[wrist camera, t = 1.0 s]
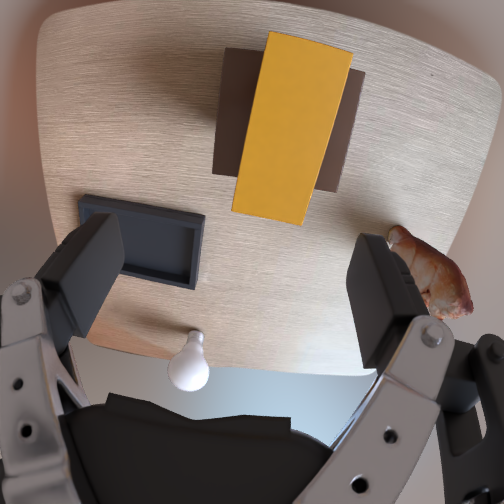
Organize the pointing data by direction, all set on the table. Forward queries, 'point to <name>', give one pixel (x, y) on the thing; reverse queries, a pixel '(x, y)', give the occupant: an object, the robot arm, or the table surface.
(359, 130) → the table surface
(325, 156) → the stand
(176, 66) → the table surface
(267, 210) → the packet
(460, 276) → the figurine
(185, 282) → the tray
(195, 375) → the lightbulb
